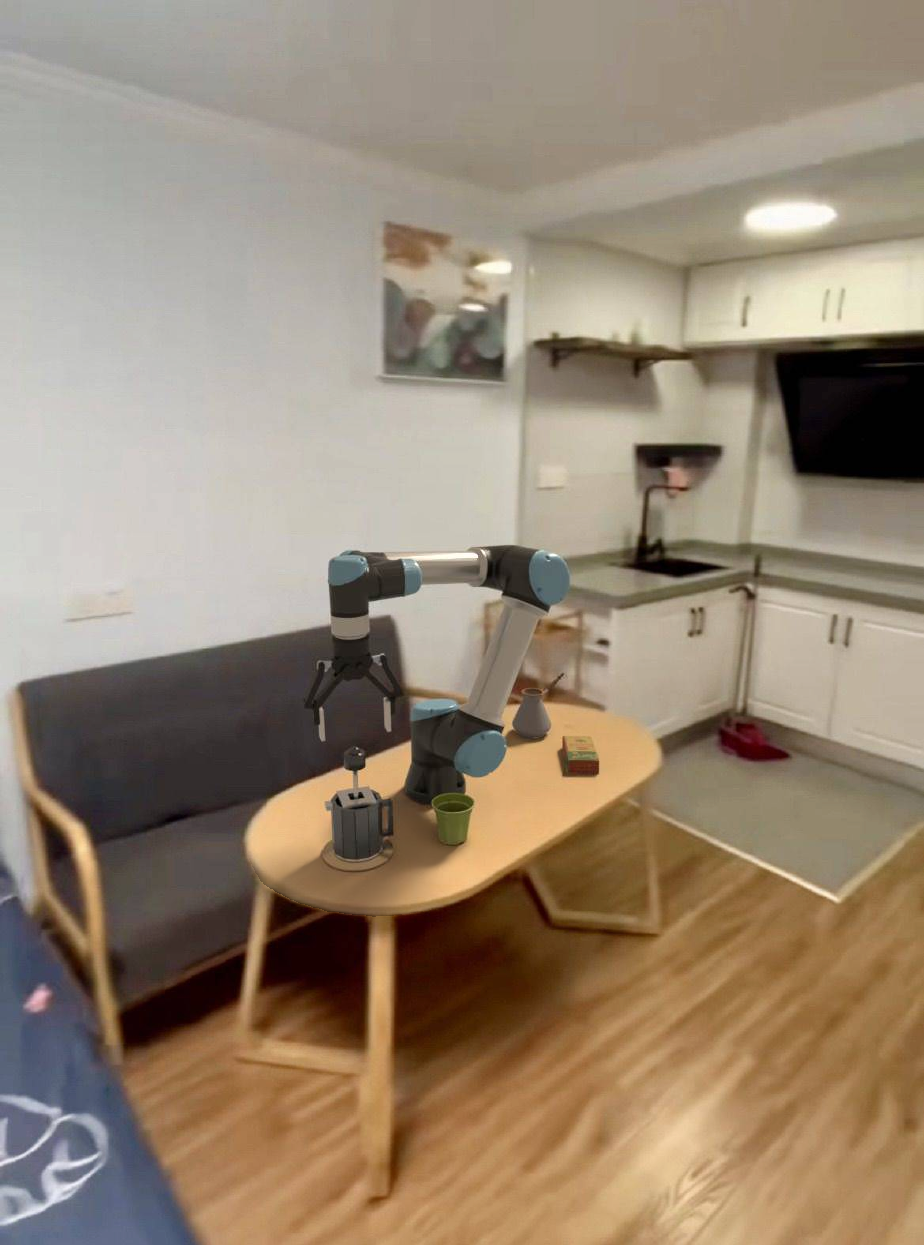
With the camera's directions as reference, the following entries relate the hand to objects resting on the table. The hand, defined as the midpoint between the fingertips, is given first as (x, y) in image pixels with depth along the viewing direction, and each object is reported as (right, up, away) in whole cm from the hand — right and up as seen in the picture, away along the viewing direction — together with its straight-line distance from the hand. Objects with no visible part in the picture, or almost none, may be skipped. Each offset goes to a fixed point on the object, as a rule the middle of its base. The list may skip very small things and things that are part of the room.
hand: (355, 734), depth 162 cm
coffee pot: (+46, -9, +73) cm, 87 cm away
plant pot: (+20, -25, +12) cm, 34 cm away
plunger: (0, -23, +6) cm, 24 cm away
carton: (+54, -15, +52) cm, 76 cm away
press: (0, -26, +7) cm, 27 cm away
